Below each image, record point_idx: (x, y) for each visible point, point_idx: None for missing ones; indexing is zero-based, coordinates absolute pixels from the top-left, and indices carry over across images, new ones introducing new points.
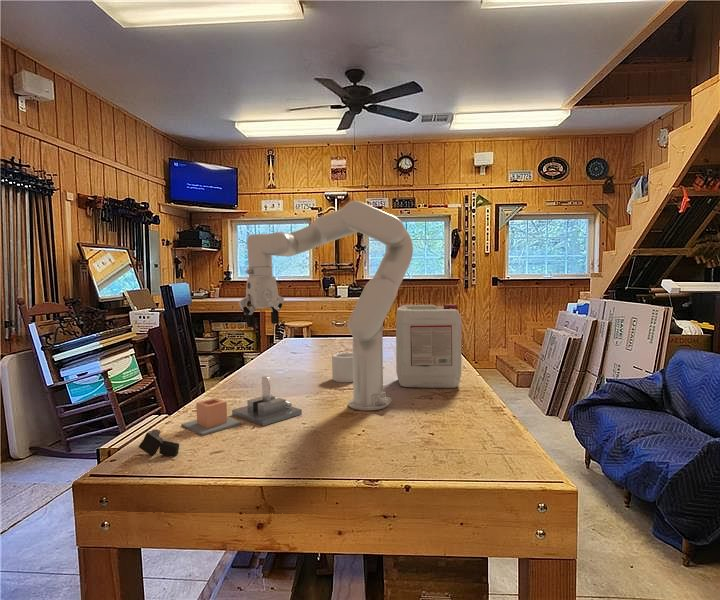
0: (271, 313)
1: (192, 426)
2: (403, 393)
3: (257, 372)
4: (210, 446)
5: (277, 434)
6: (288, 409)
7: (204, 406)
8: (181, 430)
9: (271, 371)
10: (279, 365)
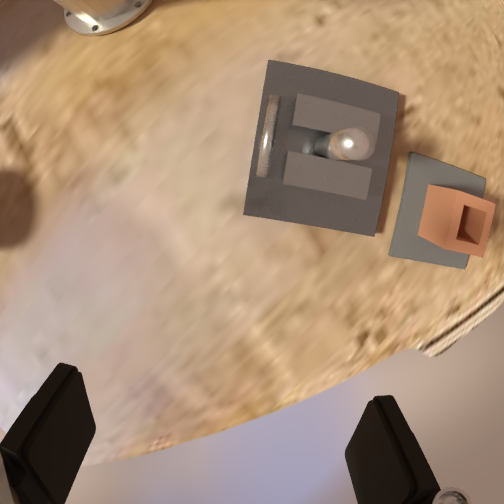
0: (63, 494)
1: None
2: (7, 19)
3: None
4: (500, 123)
5: (406, 36)
6: (289, 92)
7: (492, 215)
8: None
9: None
10: None
